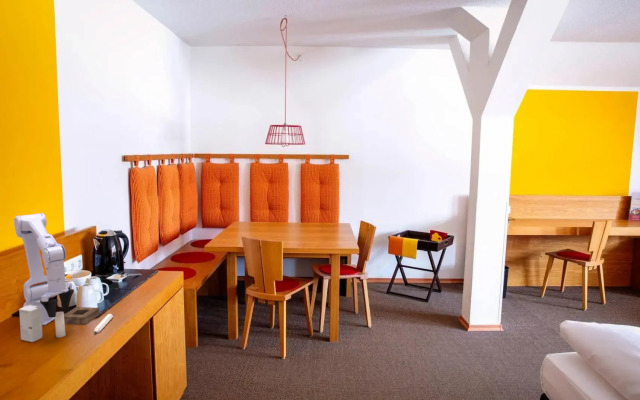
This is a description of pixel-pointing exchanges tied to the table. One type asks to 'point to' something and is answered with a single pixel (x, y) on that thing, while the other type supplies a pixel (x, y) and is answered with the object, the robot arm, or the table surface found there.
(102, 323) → the marker
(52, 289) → the robot arm
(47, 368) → the table surface
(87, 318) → the brown square frame
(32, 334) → the skincare box
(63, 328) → the peg
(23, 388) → the table surface
